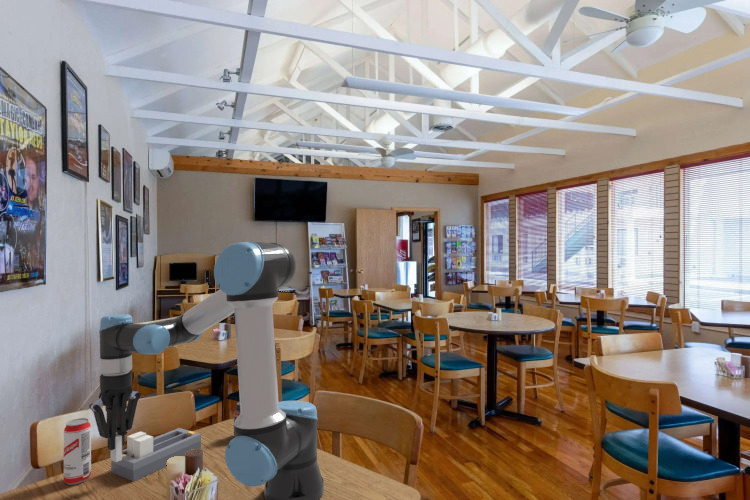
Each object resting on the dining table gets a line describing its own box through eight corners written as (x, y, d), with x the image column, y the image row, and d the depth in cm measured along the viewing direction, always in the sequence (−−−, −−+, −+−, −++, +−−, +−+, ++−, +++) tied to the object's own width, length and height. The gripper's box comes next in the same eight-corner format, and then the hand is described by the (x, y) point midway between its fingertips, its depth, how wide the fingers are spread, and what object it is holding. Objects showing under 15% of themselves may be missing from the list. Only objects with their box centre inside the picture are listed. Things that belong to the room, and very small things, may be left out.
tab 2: (153, 457, 128) (153, 436, 128) (139, 463, 124) (139, 441, 124) (147, 455, 129) (147, 434, 129) (133, 461, 125) (133, 439, 125)
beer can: (77, 487, 118) (77, 427, 118) (57, 484, 119) (57, 425, 119) (96, 475, 124) (96, 418, 124) (77, 473, 125) (77, 416, 125)
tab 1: (146, 453, 130) (146, 433, 130) (133, 459, 126) (133, 438, 126) (140, 451, 131) (140, 431, 131) (127, 457, 128) (127, 436, 128)
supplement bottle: (255, 435, 151) (255, 401, 151) (242, 441, 146) (242, 407, 146) (243, 431, 154) (243, 398, 154) (229, 437, 149) (229, 403, 149)
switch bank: (200, 450, 140) (200, 433, 140) (133, 481, 121) (133, 462, 121) (179, 443, 145) (179, 426, 145) (111, 472, 126) (111, 453, 126)
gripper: (131, 365, 127) (131, 447, 127) (82, 376, 116) (82, 466, 116) (147, 368, 124) (147, 453, 123) (99, 380, 112) (99, 473, 112)
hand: (116, 459), depth 120 cm, fingers closed
